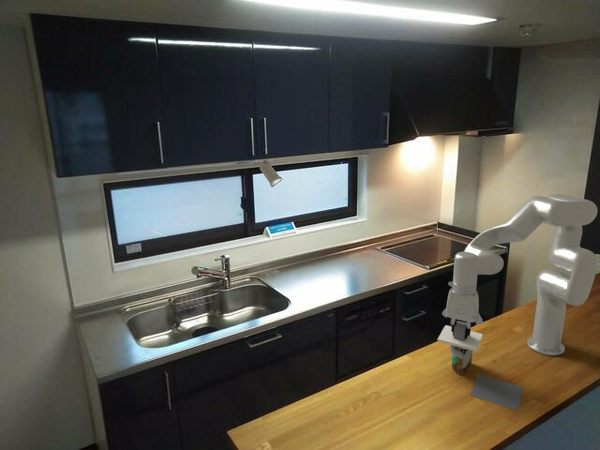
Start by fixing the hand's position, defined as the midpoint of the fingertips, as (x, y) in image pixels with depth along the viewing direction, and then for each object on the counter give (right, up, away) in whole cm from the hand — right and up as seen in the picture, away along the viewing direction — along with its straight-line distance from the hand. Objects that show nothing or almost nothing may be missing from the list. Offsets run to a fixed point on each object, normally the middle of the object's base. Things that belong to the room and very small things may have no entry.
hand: (460, 334), depth 150 cm
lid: (0, -2, 0) cm, 2 cm away
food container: (+1, -13, +4) cm, 14 cm away
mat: (+8, -17, -10) cm, 21 cm away
